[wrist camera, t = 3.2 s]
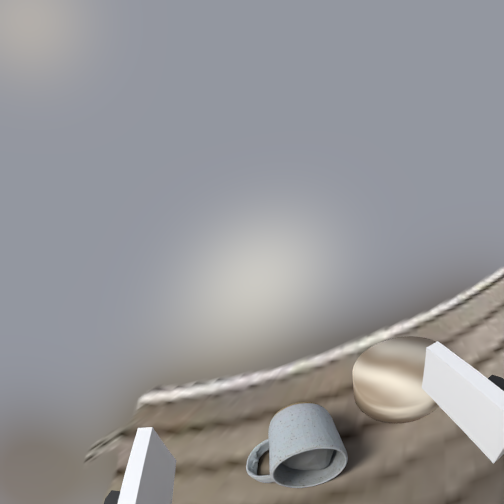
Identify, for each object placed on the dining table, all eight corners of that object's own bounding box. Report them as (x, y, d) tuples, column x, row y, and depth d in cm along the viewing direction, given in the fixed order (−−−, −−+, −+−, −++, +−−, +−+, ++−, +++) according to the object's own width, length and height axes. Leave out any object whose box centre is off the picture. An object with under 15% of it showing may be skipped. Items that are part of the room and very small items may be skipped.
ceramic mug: (331, 427, 28) (324, 386, 27) (349, 475, 20) (347, 439, 19) (248, 448, 28) (229, 410, 27) (251, 499, 20) (228, 467, 19)
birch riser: (390, 348, 40) (390, 328, 39) (462, 370, 28) (466, 348, 27) (333, 398, 34) (331, 378, 33) (414, 440, 22) (419, 419, 21)
